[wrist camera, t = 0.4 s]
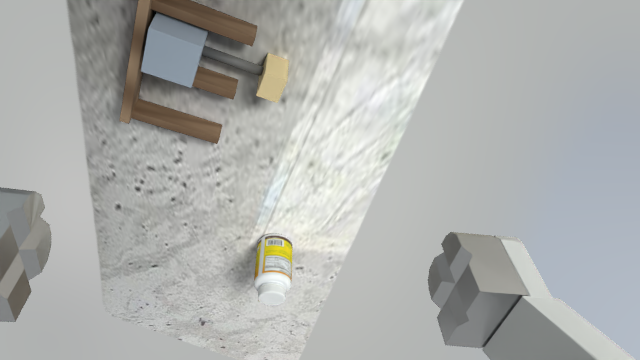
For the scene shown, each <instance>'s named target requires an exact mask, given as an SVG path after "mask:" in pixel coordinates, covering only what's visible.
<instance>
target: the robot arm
mask: <svg viewBox="0 0 640 360" xmlns="http://www.w3.org/2000/svg"><path fill="white" fill-rule="evenodd" d="M44 208H45V206H44V203H43V199H42V196H41V194H39V193H37V192H34V191H26V190H16V189H9V188H0V321H4V322H5V321H6V322H15V321H16V319H17V318H18V316H19V314H20V312H21V310H22V308H23V306H24V305H25V303H26V301H27V299H28V297H29V295H30V293H31V288H30V285H29V282H28V280H30V279H32V278H33V277H35V276H36V275H38V274H39V273H41V272H42V270H43V268H44V266H45V264H46V262H47V260H48V256H49V252H50V248H51V231H50V227H49V224H48V223H46V221H44V220H43V219H42V218H41V217H40V215H41V213H42V212H43V210H44ZM442 247H443V250H444V253H442V254H440V255H439V256H437V257H435V258H434V260H433V262H432V265H431V267H430V269H429V277H428V285H429V291H430V295H431V299H432V301H433V302H434V303H435V304H436V305H437V306H438V307H440V308H441V311H440V313H439V315H438V317H437V319H438V322H439V326H440V329H441V332H442V335H443V339H444V342H445V345H450V346H462V347H475V348H483V351H484V353H485V354H486V355H487V356H488V357H489V359H490V360H635V359H634V358H633V357H632V356H631V355H629V354H628V353H627V352H626V351H624V350H623V349H622V348H620V347H619V346H618V345H617V344H615V343H614V342H613V341H612V340H611V339H609V338H608V337H607V336H605V335H604V334H603V333H602V332H600V331H599V330H598V329H597V328H595V327H594V326H593V325H592V324H590V323H589V322H588V321H587V320H585V319H584V318H583V317H582V316H580V315H579V314H578V313H577V312H575V311H574V310H573V309H572V308H570V307H569V306H568V305H567V304H565V303H564V302H563V301H562V300H560V299H556V298H552V296H551V294H550V292H549V291H548V289H547V287H546V285H545V283H544V281H543V280H542V278H541V276H540V274H539V272H538V271H537V269H536V267H535V265H534V263H533V261H532V260H531V258H530V256H529V255H528V252H527V251H526V249H525V247H524V245H523V243H522V242H521V241H520V240H519V239H518V238H516V237H504V236H490V235H479V234H467V233H456V232H450V233H449V234H448V235H447V236H446V237H445V239H444V241H443V242H442Z"/></svg>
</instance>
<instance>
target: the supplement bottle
mask: <svg viewBox="0 0 640 360" xmlns="http://www.w3.org/2000/svg"><path fill="white" fill-rule="evenodd" d="M291 277H292V242H291V240H290V239H289V238H288V237H286V236H284V235H282V234H276V233H273V234H267V235H265V236H263V237H262V238H261V239H260V240H259V241H258V246H257V256H256V267H255V277H254V287H255V289H256V290H257V291H258V300H259V301H260V302H261V303H262V304H264V305H268V306H277V305H280V304H282V303H284V301H285V297H286V292H287V291H289V289H290V288H291Z"/></svg>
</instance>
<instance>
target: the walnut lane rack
mask: <svg viewBox="0 0 640 360" xmlns="http://www.w3.org/2000/svg"><path fill="white" fill-rule="evenodd" d="M154 10H155V11H158V12H160V13H163V14H166V15H168V16H171V17H174V18H177V19H179V20H182V21H185V22H187V23H190V24H193V25H195V26H198V27H201V28H204V29H206V30H209V31H212V32H214V33H217V34H220V35H222V36H225V37H228V38H231V39H233V40H236V41H239V42H241V43H244V44H247V45H249V46H253V43H254V40H255V37H256V31H257V26H256V25H253V24H250V23H248V22H245V21H243V20H240V19H237V18H235V17H232V16H230V15H227V14H224V13H222V12H219V11H217V10H214V9H211V8H209V7H206V6H204V5H201V4H198V3H196V2H193V1H191V0H138V6H137V12H136V18H135V25H134V31H133V38H132V44H131V50H130V57H129V63H128V70H127V76H126V82H125V89H124V95H123V102H122V108H121V114H120V121H122V122H125V123H128V124H129V122H130V120H131V118H132V119H136V120H139V121H142V122H146V123H149V124H153V125H156V126H159V127H163V128H166V129H169V130H173V131H176V132H179V133H183V134H186V135H189V136H193V137H196V138H199V139H203V140H206V141H209V142H213V143H216V144H217V143H218V140H219V137H220V132H221V128H222V125H221V124H218V123H215V122H211V121H208V120H205V119H202V118H199V117H195V116H192V115H189V114H186V113H183V112H179V111H176V110H173V109H170V108H167V107H163V106H160V105H157V104H154V103H151V102H147V101H144V100H141V99H138V97H139V92H140V86H141V81H142V76H143V72H141V68H142V62H143V56H144V51H145V45H146V40H147V34H148V29H149V26H150V24H151V22H152V20H153V16H154ZM237 83H238V80H237V79H234V78H231V77H229V76H226V75H223V74H220V73H217V72H214V71H211V70H208V69H205V68H202V67H200V66H198V69H197V72H196V75H195V78H194V81H193V84H192V86H194V87H197V88H200V89H203V90H206V91H209V92H212V93H215V94H218V95H221V96H224V97H227V98H230V99H234V96H235V93H236V88H237Z"/></svg>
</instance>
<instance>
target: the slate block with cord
mask: <svg viewBox="0 0 640 360" xmlns="http://www.w3.org/2000/svg"><path fill="white" fill-rule="evenodd" d="M208 31H209V30H206V29H204V28H201V27H198V26H195V25H193V24H190V23H187V22H185V21H182V20H179V19H177V18H174V17H171V16H168V15H166V14H163V13H160V12H158V11H157V13H156V15H155V17H154V19H153V20H152V22H151V24H150V26H149V29H148V34H147V40H146V45H145V51H144V56H143V62H142V68H141V72H144V73H147V74H150V75H153V76H156V77H159V78H162V79H165V80H168V81H171V82H174V83H177V84H180V85H183V86H186V87H189V88H192V84H193V81H194V78H195V75H196V72H197V69H198V66H199V63H200V60H201V56H202V55H203V56H206V57H209V58H212V59H214V60H217V61H220V62H223V63H226V64H229V65H231V66H234V67H237V68H240V69H243V70H245V71H248V72H251V73H254V74H257V75H259V80H258V87H257V94H256V96H259V97H262V98H265V99H268V100H270V101H273V102H276V103H278V101H279V98H280V96H281V94H282V92H283V89H284V87H285V85H286V83H287V78H288V64H289V61H288V60H286V59H283V58H280V57H278V56H275V55H272V54H270V53H268V54H267V56H266V59H265V62H264V64H263V67H262V66H260V65H257V64H254V63H251V62H249V61H246V60H243V59H240V58H237V57H235V56H232V55H229V54H226V53H224V52H221V51H218V50H215V49H212V48H210V47H207V46H204V45H205V42H206V38H207V35H208Z"/></svg>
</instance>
